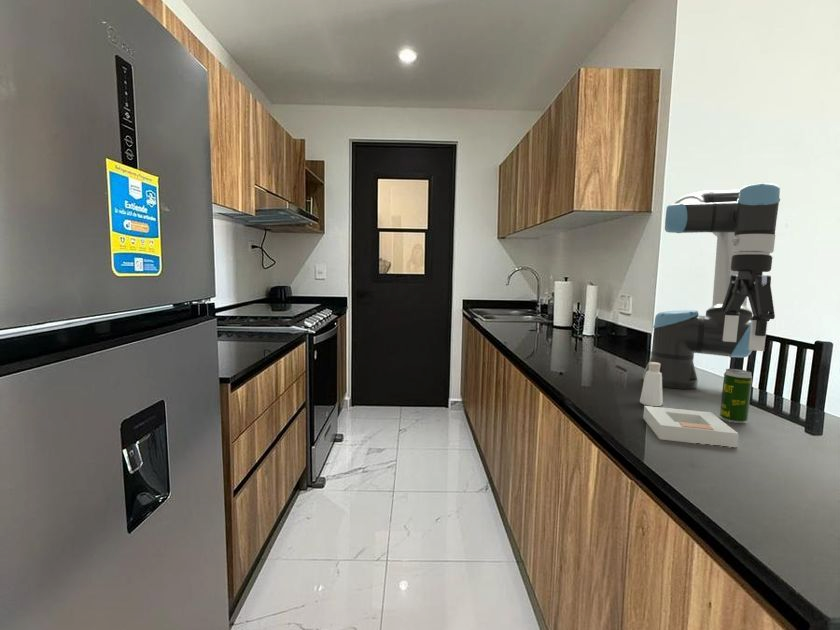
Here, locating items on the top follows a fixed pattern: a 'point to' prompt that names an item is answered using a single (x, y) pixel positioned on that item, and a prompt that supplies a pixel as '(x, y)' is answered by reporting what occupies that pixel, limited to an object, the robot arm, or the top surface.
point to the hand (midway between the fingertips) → (741, 345)
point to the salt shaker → (652, 386)
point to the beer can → (736, 395)
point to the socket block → (689, 426)
